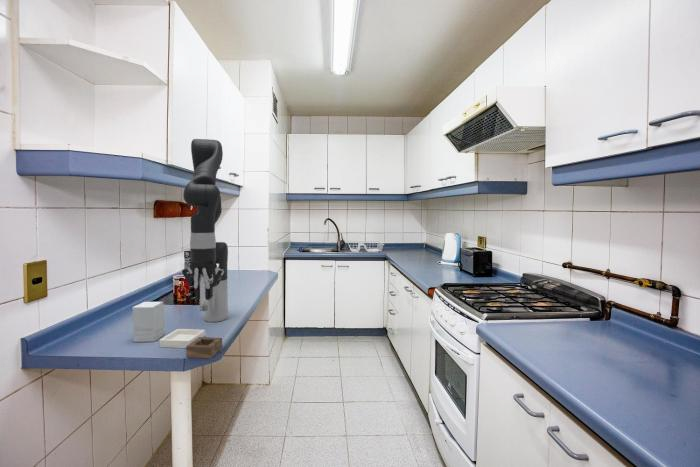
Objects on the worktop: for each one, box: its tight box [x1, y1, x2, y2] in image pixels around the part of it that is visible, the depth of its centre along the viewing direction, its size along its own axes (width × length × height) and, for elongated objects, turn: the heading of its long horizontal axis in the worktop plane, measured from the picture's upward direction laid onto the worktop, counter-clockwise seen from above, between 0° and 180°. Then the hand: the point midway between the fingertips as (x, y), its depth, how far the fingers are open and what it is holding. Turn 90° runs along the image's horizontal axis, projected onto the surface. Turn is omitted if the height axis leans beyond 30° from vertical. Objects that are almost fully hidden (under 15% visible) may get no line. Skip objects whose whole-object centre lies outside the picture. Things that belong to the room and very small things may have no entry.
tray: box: [158, 328, 206, 349], centre depth 115 cm, size 11×11×2 cm
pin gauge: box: [199, 274, 209, 312], centre depth 105 cm, size 3×3×12 cm
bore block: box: [185, 336, 223, 359], centre depth 107 cm, size 8×8×4 cm
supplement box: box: [131, 301, 165, 343], centre depth 118 cm, size 7×7×13 cm
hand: (204, 299), depth 106 cm, fingers closed on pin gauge, 2 cm apart
